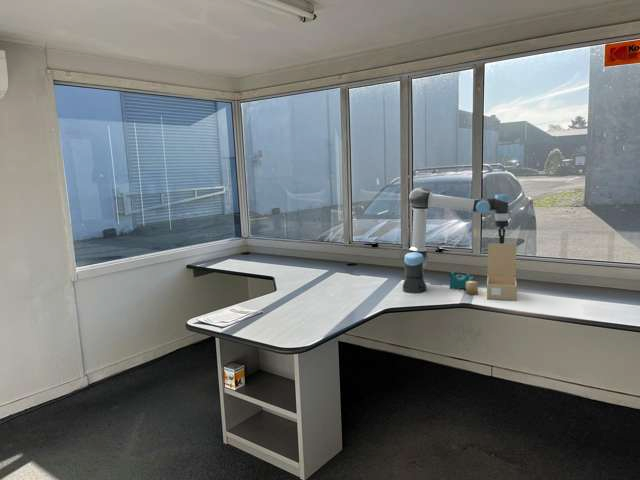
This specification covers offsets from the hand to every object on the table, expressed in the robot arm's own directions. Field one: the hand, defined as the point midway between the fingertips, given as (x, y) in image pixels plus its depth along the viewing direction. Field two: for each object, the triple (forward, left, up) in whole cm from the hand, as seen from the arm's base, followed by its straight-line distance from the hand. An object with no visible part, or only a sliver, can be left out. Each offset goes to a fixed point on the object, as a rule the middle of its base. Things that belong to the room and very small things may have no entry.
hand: (501, 257), depth 279 cm
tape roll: (-17, -14, -20) cm, 30 cm away
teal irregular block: (-24, +2, -20) cm, 31 cm away
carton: (0, -15, -20) cm, 25 cm away
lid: (0, -5, 0) cm, 5 cm away
